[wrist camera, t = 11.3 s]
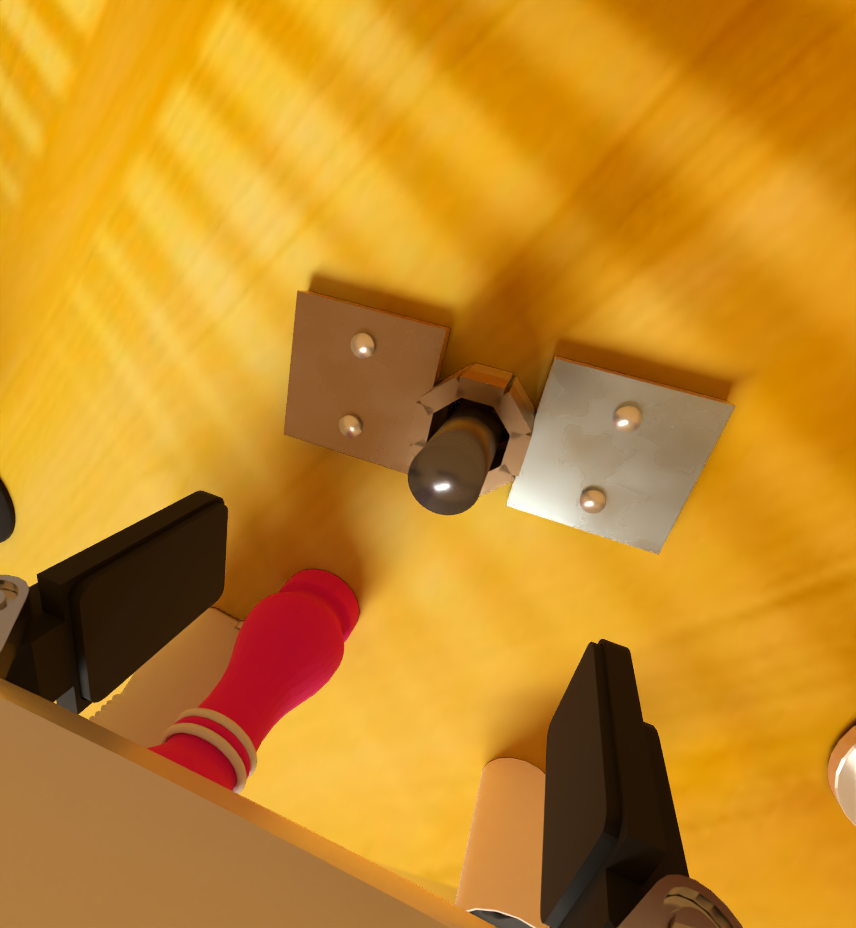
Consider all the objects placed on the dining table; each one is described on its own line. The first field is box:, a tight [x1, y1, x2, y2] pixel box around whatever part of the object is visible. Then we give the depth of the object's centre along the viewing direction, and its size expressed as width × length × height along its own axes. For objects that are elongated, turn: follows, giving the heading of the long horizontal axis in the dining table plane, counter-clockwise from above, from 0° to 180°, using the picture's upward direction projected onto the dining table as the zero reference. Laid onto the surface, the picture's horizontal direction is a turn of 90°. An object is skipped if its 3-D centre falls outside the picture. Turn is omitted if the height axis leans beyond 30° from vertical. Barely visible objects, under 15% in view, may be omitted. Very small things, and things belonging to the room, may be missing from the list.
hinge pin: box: [408, 399, 505, 515], centre depth 22 cm, size 3×3×10 cm
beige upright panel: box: [89, 607, 244, 748], centre depth 29 cm, size 11×4×22 cm, turn 60°
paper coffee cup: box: [455, 758, 549, 928], centre depth 32 cm, size 7×7×10 cm
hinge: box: [284, 291, 735, 554], centre depth 25 cm, size 24×9×5 cm, turn 78°
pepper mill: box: [147, 569, 359, 794], centre depth 26 cm, size 7×7×20 cm
